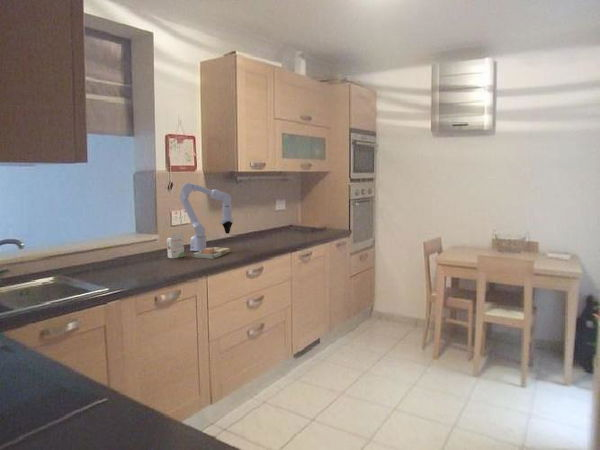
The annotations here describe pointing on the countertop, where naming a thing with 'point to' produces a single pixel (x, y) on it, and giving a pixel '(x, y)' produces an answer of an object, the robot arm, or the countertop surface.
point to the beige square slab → (220, 250)
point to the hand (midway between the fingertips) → (227, 233)
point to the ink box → (175, 245)
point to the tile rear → (208, 250)
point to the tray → (206, 255)
